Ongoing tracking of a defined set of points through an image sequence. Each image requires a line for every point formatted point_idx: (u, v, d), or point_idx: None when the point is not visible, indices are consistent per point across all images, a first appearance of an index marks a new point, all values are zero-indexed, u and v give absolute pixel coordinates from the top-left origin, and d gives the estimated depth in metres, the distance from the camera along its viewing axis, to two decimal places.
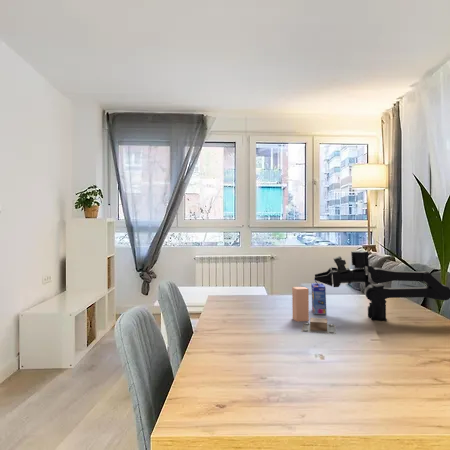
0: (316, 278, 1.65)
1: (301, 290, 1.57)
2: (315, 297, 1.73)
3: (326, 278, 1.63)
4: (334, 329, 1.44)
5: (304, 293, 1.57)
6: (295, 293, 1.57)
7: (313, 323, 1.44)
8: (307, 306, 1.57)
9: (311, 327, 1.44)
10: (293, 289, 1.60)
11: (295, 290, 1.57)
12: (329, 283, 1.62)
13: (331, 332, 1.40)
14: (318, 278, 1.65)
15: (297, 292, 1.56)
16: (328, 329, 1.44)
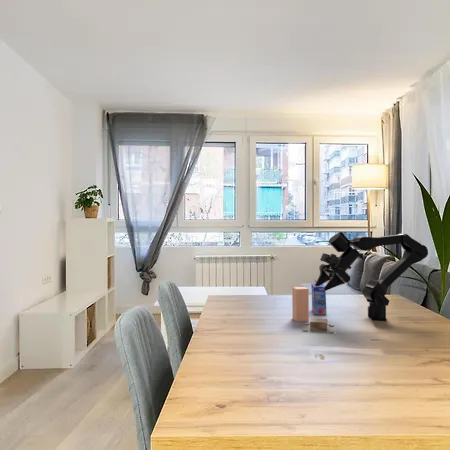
0: (326, 288, 1.56)
1: (301, 290, 1.57)
2: (315, 297, 1.73)
3: (333, 281, 1.55)
4: (334, 329, 1.44)
5: (304, 293, 1.57)
6: (295, 293, 1.57)
7: (313, 323, 1.44)
8: (307, 306, 1.57)
9: (311, 327, 1.44)
10: (293, 289, 1.60)
11: (295, 290, 1.57)
12: (340, 283, 1.55)
13: (331, 332, 1.40)
14: (327, 287, 1.56)
15: (297, 292, 1.56)
16: (328, 329, 1.44)
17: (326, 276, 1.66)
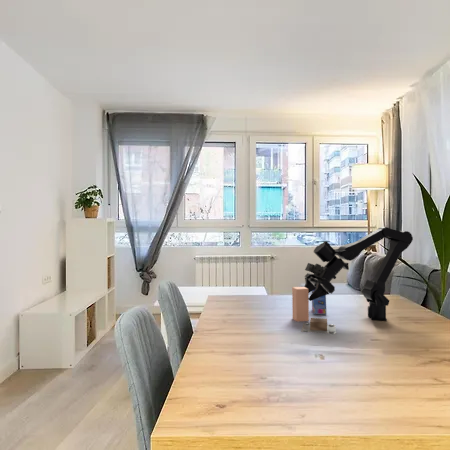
0: (310, 298, 1.55)
1: (301, 290, 1.57)
2: None
3: (318, 291, 1.54)
4: (334, 329, 1.44)
5: (304, 293, 1.57)
6: (295, 293, 1.57)
7: (313, 323, 1.44)
8: (307, 306, 1.57)
9: (311, 327, 1.44)
10: (293, 289, 1.60)
11: (295, 290, 1.57)
12: (324, 293, 1.54)
13: (331, 332, 1.40)
14: (312, 297, 1.54)
15: (297, 292, 1.56)
16: (328, 329, 1.44)
17: (311, 286, 1.65)
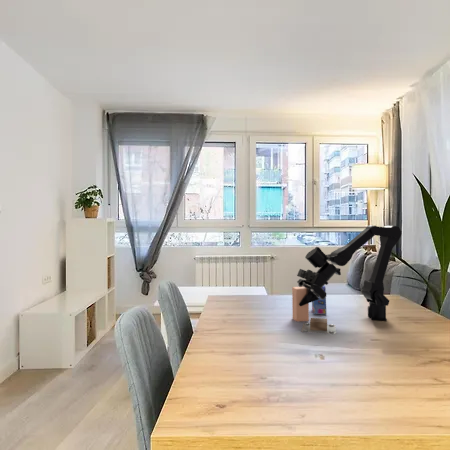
0: (301, 304, 1.56)
1: (301, 290, 1.57)
2: None
3: (308, 297, 1.55)
4: (334, 329, 1.44)
5: (304, 293, 1.57)
6: (295, 293, 1.57)
7: (313, 323, 1.44)
8: (307, 306, 1.57)
9: (311, 327, 1.44)
10: (293, 289, 1.60)
11: (295, 290, 1.57)
12: (314, 298, 1.55)
13: (331, 332, 1.40)
14: (302, 302, 1.56)
15: (297, 292, 1.56)
16: (328, 329, 1.44)
17: None
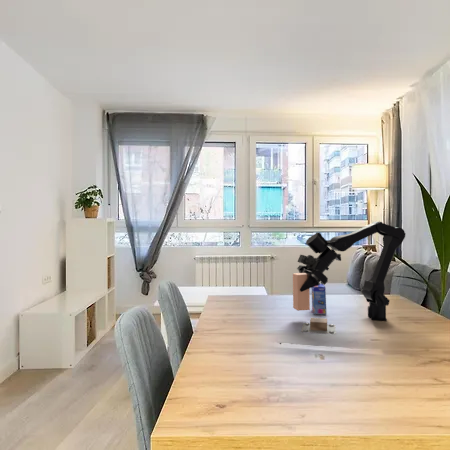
0: (301, 289, 1.55)
1: (302, 276, 1.55)
2: (315, 297, 1.73)
3: (309, 282, 1.55)
4: (334, 329, 1.44)
5: (305, 279, 1.56)
6: (296, 279, 1.56)
7: (313, 323, 1.44)
8: (308, 292, 1.56)
9: (311, 327, 1.44)
10: (294, 275, 1.59)
11: (296, 276, 1.56)
12: (315, 283, 1.54)
13: (331, 332, 1.40)
14: (303, 288, 1.55)
15: (298, 278, 1.55)
16: (328, 329, 1.44)
17: None
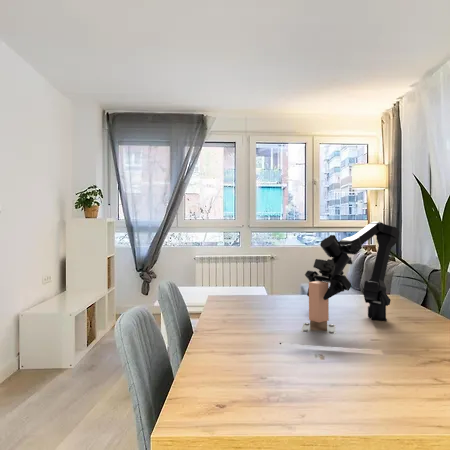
0: (325, 297, 1.42)
1: (322, 284, 1.44)
2: None
3: (332, 289, 1.43)
4: (334, 329, 1.44)
5: (325, 288, 1.44)
6: (317, 288, 1.43)
7: (313, 323, 1.44)
8: (327, 301, 1.45)
9: (311, 327, 1.44)
10: (311, 284, 1.46)
11: (316, 285, 1.44)
12: (338, 290, 1.43)
13: (331, 332, 1.40)
14: (327, 296, 1.42)
15: (319, 287, 1.43)
16: (328, 329, 1.44)
17: None
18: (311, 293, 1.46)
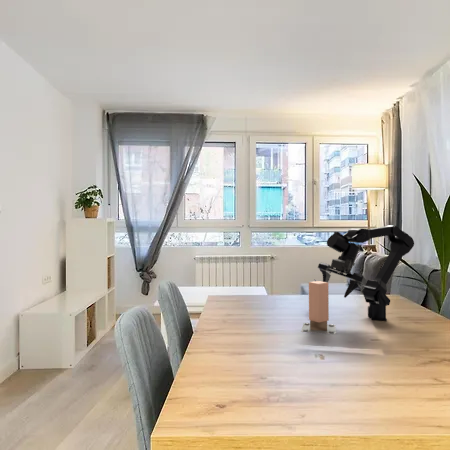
0: (346, 295, 1.53)
1: (322, 284, 1.44)
2: None
3: (351, 287, 1.53)
4: (334, 329, 1.44)
5: (325, 288, 1.44)
6: (317, 288, 1.43)
7: (313, 323, 1.44)
8: (327, 301, 1.45)
9: (311, 327, 1.44)
10: (311, 284, 1.46)
11: (316, 285, 1.44)
12: (356, 286, 1.54)
13: (331, 332, 1.40)
14: (347, 294, 1.53)
15: (319, 287, 1.43)
16: (328, 329, 1.44)
17: (328, 275, 1.61)
18: (311, 293, 1.46)
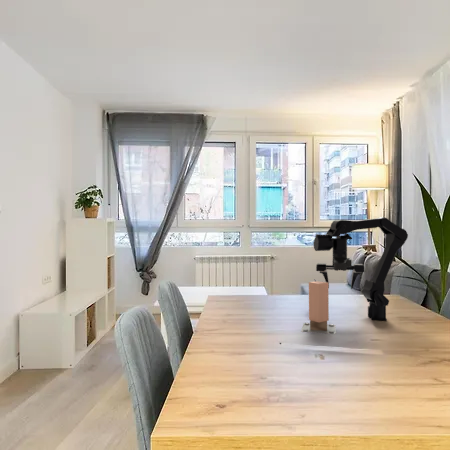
0: (352, 287, 1.61)
1: (322, 284, 1.44)
2: None
3: None
4: (334, 329, 1.44)
5: (325, 288, 1.44)
6: (317, 288, 1.43)
7: (313, 323, 1.44)
8: (327, 301, 1.45)
9: (311, 327, 1.44)
10: (311, 284, 1.46)
11: (316, 285, 1.44)
12: None
13: (331, 332, 1.40)
14: None
15: (319, 287, 1.43)
16: (328, 329, 1.44)
17: None
18: (311, 293, 1.46)
